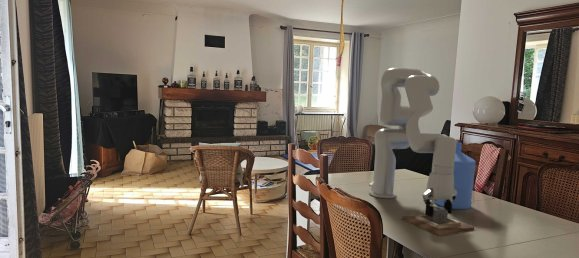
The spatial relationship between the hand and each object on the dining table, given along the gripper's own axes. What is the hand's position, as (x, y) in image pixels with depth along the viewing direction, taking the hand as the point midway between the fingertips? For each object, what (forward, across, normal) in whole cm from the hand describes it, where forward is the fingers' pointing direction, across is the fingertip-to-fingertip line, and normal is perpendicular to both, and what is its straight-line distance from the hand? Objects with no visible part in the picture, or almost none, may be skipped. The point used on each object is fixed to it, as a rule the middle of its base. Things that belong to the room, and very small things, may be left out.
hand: (438, 214), depth 145 cm
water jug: (+4, -27, -16) cm, 32 cm away
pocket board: (+4, 0, 0) cm, 4 cm away
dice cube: (+3, 0, 0) cm, 3 cm away
